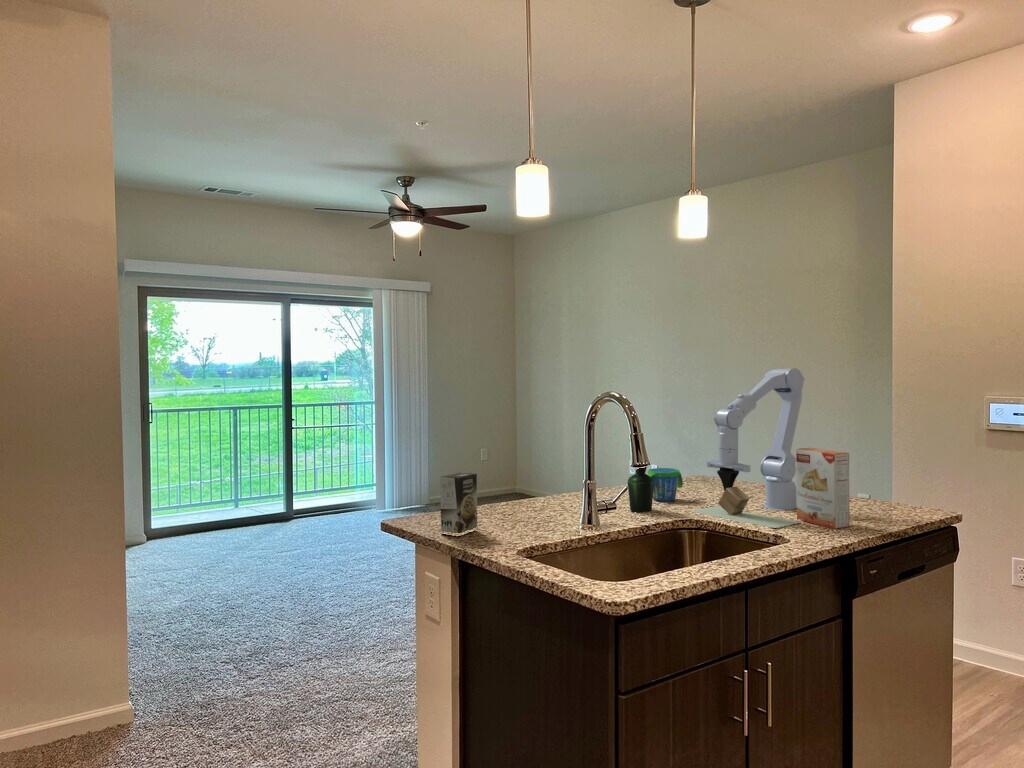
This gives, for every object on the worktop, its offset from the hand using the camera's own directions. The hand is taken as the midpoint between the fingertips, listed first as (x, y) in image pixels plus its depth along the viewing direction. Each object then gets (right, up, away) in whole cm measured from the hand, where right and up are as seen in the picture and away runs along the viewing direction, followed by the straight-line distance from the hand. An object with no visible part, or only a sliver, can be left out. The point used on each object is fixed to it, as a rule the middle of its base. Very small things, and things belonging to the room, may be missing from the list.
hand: (728, 493), depth 220 cm
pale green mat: (+3, -6, -5) cm, 9 cm away
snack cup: (-14, -6, +26) cm, 30 cm away
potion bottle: (-25, -7, +7) cm, 27 cm away
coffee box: (-80, -8, -20) cm, 83 cm away
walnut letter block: (0, -5, 0) cm, 5 cm away
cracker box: (+22, -7, -15) cm, 27 cm away
